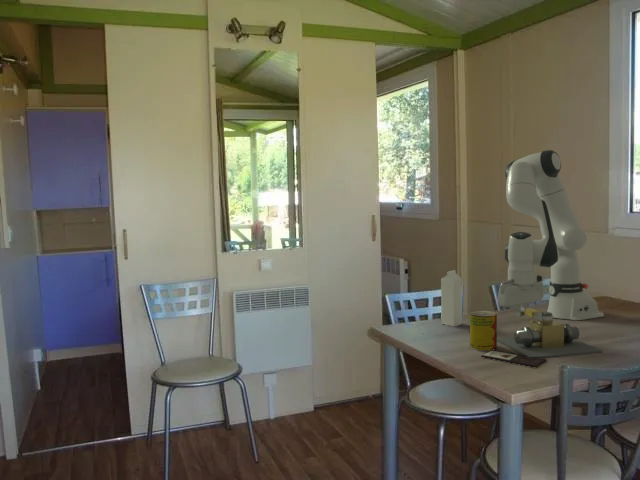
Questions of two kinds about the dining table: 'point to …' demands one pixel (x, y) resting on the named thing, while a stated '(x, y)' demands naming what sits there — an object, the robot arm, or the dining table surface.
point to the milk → (451, 299)
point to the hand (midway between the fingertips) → (520, 316)
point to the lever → (540, 315)
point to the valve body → (546, 334)
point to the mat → (535, 351)
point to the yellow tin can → (483, 330)
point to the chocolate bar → (514, 358)
